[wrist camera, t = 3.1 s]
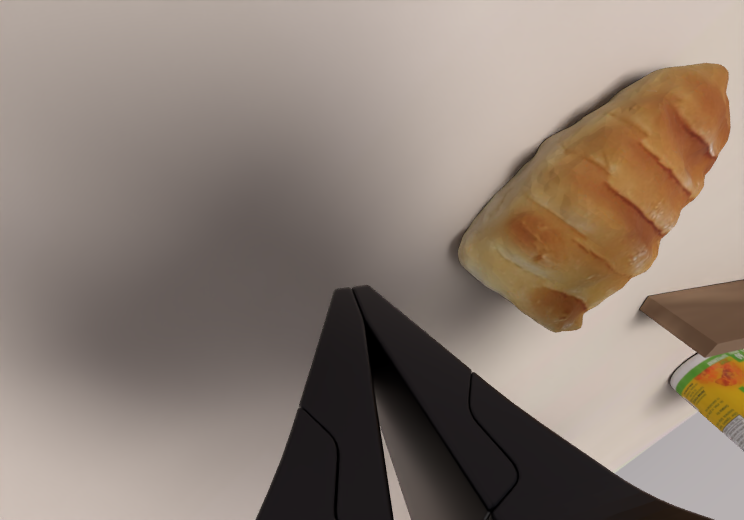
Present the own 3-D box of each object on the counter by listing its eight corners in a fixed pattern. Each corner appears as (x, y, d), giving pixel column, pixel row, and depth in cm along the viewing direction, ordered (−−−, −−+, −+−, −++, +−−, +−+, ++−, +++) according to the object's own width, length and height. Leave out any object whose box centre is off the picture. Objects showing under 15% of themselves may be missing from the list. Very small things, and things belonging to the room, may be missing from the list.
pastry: (631, 3, 9) (805, -14, 6) (702, 129, 13) (839, 158, 10) (434, 251, 13) (484, 318, 10) (530, 300, 16) (590, 361, 13)
